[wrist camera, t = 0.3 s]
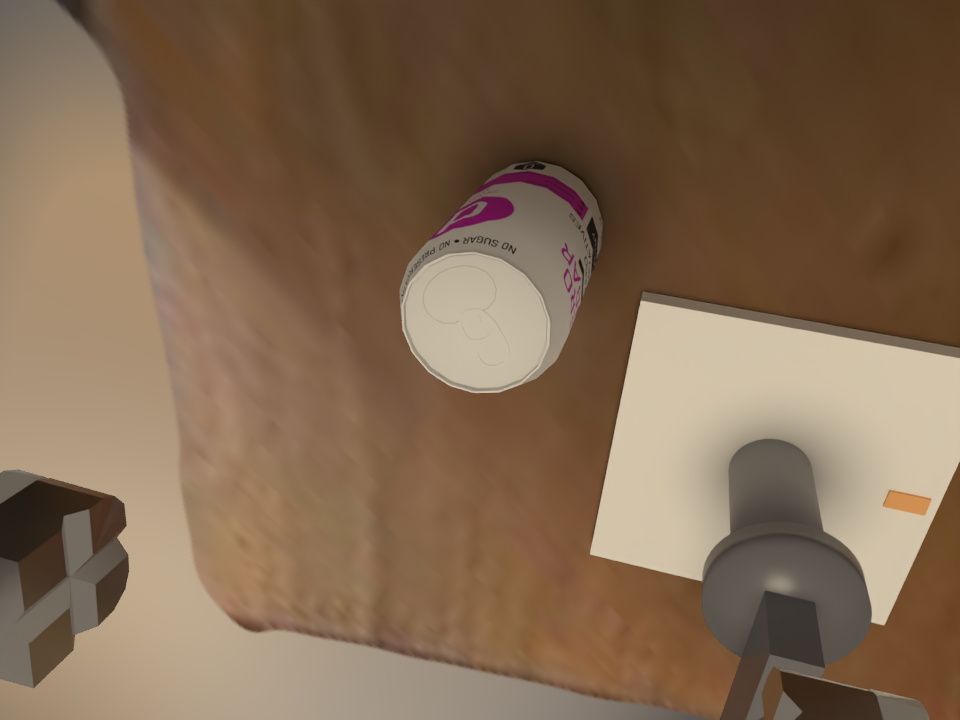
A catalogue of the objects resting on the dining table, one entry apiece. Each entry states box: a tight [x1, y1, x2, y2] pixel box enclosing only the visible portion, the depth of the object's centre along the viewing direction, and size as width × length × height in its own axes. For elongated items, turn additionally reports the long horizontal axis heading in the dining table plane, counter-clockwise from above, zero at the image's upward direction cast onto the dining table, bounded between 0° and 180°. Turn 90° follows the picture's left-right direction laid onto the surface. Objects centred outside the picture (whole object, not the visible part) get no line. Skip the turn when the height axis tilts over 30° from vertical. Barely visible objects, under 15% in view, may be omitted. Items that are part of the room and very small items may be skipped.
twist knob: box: [702, 522, 872, 720], centre depth 41 cm, size 14×8×7 cm, turn 175°
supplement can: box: [400, 161, 603, 393], centre depth 42 cm, size 8×8×15 cm
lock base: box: [590, 291, 960, 625], centre depth 47 cm, size 20×20×12 cm
